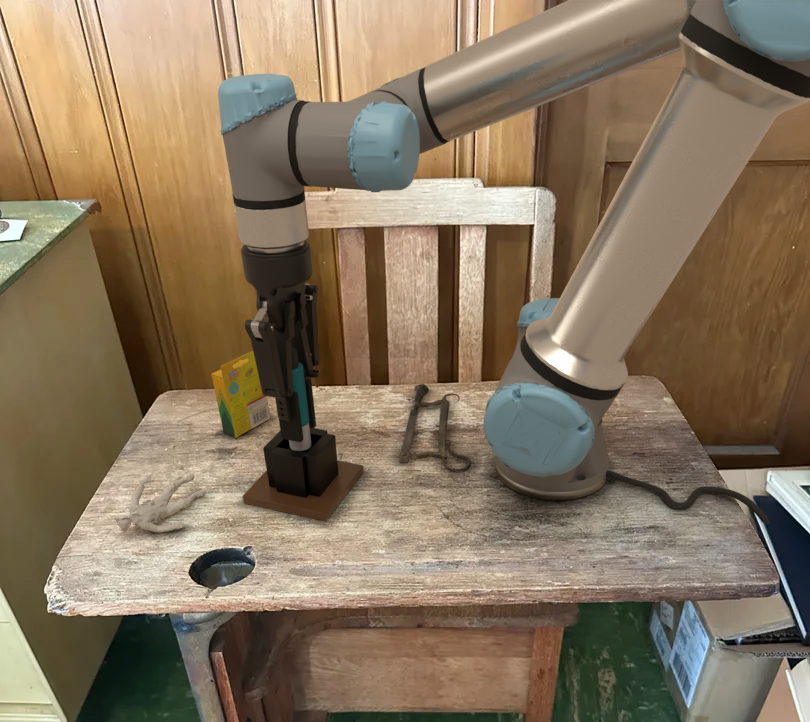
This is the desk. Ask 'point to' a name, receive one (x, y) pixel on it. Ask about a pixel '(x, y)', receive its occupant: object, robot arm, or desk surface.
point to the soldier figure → (156, 507)
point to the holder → (303, 477)
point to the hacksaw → (442, 453)
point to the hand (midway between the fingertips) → (299, 431)
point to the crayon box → (240, 395)
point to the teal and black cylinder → (300, 403)
